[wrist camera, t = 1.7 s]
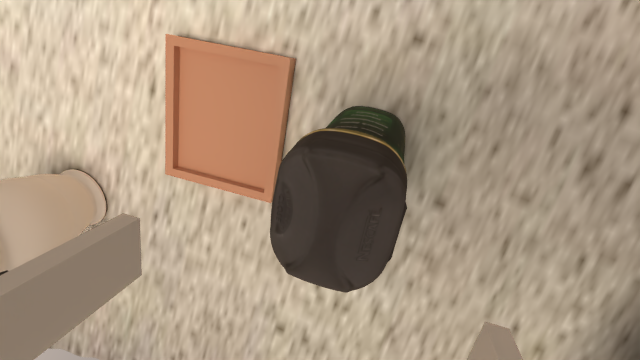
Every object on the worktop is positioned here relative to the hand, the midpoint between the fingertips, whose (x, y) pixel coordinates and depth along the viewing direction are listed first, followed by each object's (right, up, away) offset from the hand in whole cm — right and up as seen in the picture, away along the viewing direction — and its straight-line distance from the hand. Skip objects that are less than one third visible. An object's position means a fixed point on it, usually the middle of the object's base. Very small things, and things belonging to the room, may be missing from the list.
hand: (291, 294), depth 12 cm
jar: (-33, +2, +34) cm, 48 cm away
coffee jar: (+6, +7, +22) cm, 24 cm away
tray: (-10, +11, +25) cm, 29 cm away
